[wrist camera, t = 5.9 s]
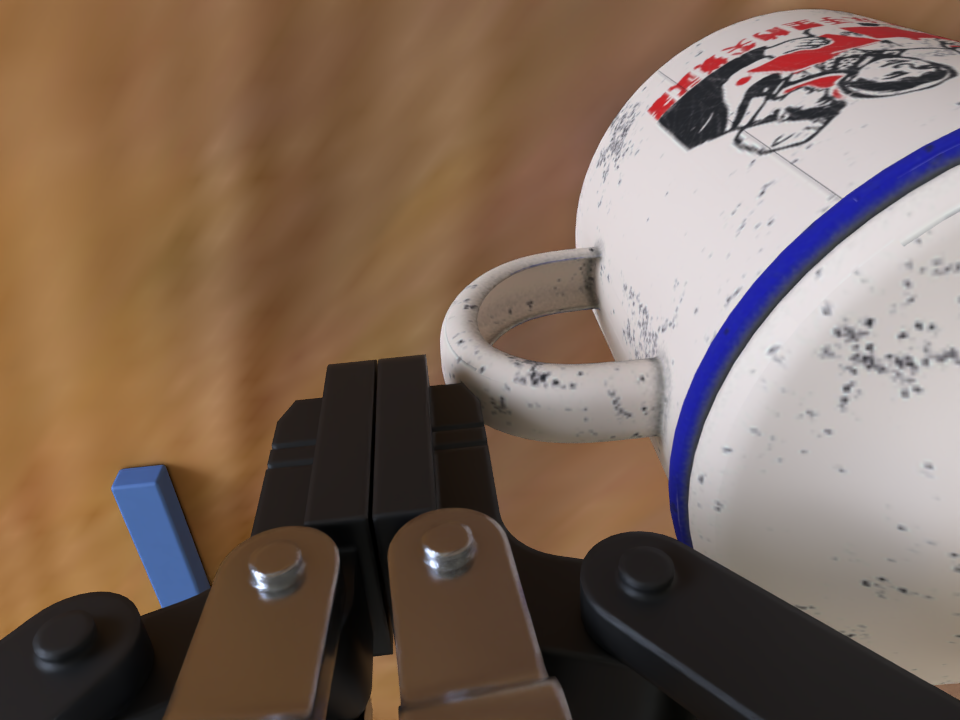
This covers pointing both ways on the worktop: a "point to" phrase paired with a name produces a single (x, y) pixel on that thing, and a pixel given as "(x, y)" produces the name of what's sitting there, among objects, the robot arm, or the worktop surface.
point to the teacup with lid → (771, 317)
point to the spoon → (160, 533)
